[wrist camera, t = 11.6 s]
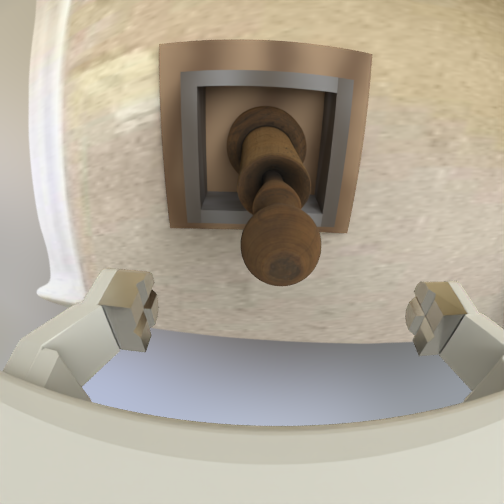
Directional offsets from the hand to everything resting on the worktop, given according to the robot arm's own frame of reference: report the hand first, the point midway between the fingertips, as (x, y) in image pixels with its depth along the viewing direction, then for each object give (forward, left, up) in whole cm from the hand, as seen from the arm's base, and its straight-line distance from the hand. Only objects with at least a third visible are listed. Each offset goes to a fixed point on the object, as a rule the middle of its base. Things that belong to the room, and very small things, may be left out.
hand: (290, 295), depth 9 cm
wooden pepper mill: (0, 0, -20) cm, 20 cm away
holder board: (0, 0, -21) cm, 21 cm away
